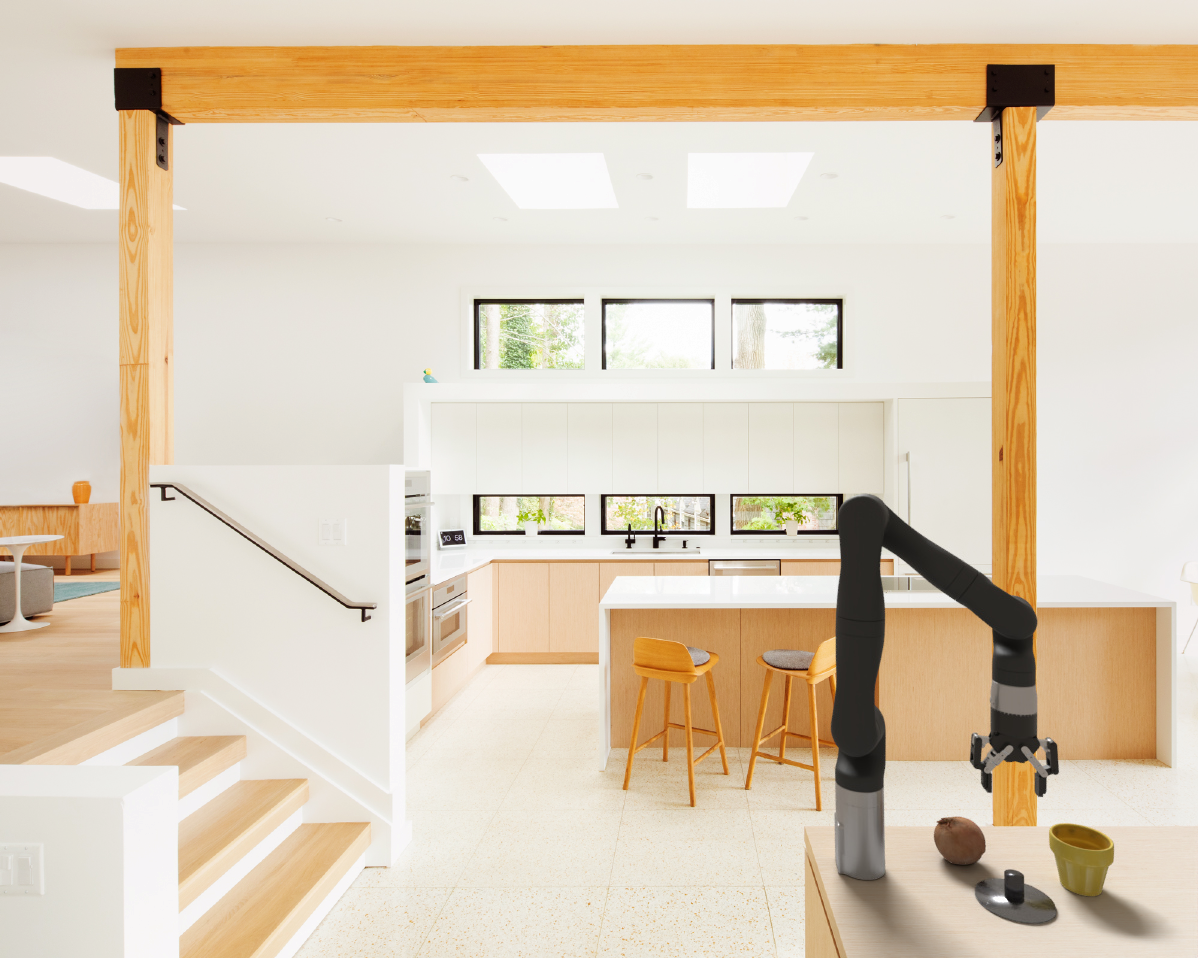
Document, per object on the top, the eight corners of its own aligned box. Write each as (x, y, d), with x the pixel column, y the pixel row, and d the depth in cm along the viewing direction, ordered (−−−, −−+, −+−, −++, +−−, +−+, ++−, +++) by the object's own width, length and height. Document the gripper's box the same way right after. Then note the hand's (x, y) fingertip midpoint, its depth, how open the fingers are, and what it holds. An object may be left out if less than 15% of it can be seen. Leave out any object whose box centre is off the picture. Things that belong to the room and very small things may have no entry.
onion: (942, 877, 148) (918, 832, 149) (954, 846, 155) (931, 804, 155) (989, 877, 142) (963, 831, 142) (999, 845, 148) (975, 801, 149)
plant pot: (1125, 905, 133) (1125, 852, 132) (1062, 900, 135) (1062, 847, 134) (1098, 874, 143) (1098, 824, 143) (1040, 869, 145) (1040, 820, 145)
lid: (987, 921, 130) (986, 890, 130) (966, 880, 142) (965, 852, 142) (1068, 929, 127) (1068, 898, 127) (1039, 886, 140) (1039, 858, 140)
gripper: (977, 710, 132) (977, 799, 132) (1065, 715, 129) (1064, 805, 129) (965, 697, 139) (965, 781, 140) (1048, 701, 136) (1048, 787, 137)
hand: (1013, 793), depth 135 cm, fingers open, 8 cm apart
